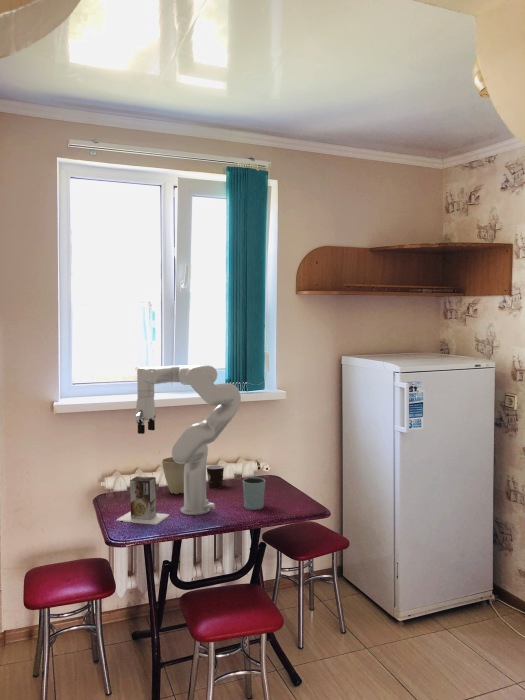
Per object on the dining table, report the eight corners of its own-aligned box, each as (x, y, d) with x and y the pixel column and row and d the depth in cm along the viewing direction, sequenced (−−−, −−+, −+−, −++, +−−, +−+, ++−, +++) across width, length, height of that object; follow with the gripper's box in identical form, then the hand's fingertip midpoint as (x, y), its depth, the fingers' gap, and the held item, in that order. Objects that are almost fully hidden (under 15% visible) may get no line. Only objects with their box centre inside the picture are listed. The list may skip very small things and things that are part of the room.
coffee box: (156, 515, 241) (156, 476, 241) (150, 520, 235) (150, 480, 234) (136, 513, 243) (136, 475, 243) (130, 518, 237) (129, 479, 236)
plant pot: (185, 486, 289) (185, 454, 289) (198, 493, 277) (197, 460, 276) (157, 490, 282) (157, 458, 281) (169, 497, 269) (168, 464, 269)
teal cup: (249, 502, 261) (249, 476, 260) (269, 505, 256) (269, 478, 256) (238, 508, 252) (238, 481, 251) (259, 511, 247) (259, 483, 247)
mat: (169, 515, 242) (169, 514, 242) (156, 524, 231) (156, 523, 231) (130, 512, 247) (130, 511, 247) (116, 521, 236) (116, 519, 236)
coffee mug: (206, 484, 292) (206, 465, 292) (223, 484, 293) (223, 464, 293) (207, 491, 280) (206, 470, 280) (224, 490, 281) (224, 470, 281)
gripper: (147, 392, 270) (147, 428, 270) (128, 395, 253) (129, 434, 253) (161, 392, 268) (162, 429, 268) (144, 396, 251) (144, 435, 251)
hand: (146, 431), depth 261 cm, fingers open, 9 cm apart
